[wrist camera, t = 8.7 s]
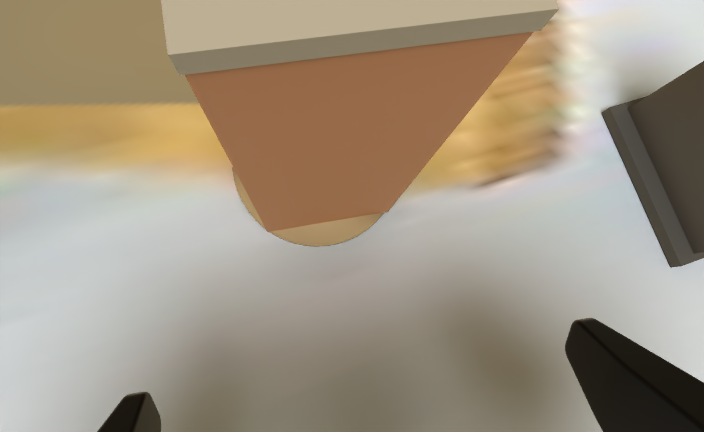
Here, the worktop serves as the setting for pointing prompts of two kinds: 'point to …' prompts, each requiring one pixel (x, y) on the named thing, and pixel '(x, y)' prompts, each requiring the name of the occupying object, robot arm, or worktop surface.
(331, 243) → the coaster
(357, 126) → the tin
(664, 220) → the screen
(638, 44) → the worktop surface
